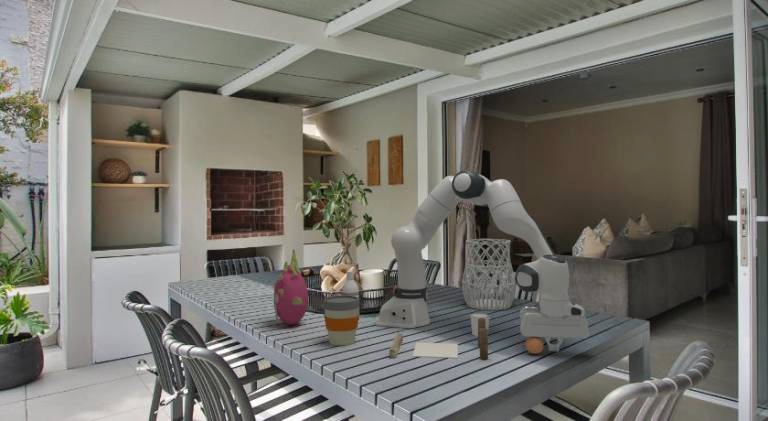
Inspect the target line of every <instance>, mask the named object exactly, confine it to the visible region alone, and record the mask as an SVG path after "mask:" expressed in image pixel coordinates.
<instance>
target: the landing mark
mask: <svg viewBox="0 0 768 421" xmlns="http://www.w3.org/2000/svg"><path fill="white" fill-rule="evenodd" d="M458 350H459V343H446V342H441V343H440V342H416V343H415V346H414V350H413V353H412V358H413V357H414V358H415V357H416V358H417V357H420V358H442V359H459V358H458V356H459V355H458V354H459V352H458Z"/></svg>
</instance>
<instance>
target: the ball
mask: <svg viewBox="0 0 768 421" xmlns="http://www.w3.org/2000/svg"><path fill="white" fill-rule="evenodd" d="M524 345H525V349H526V350H527V351H528V353H530V354H533V355H538V354H540V353H542V351H543V350H544V341H543V340H542V339H541V337H528V338H527V339H526V340H525V344H524Z"/></svg>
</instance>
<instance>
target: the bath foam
mask: <svg viewBox="0 0 768 421" xmlns="http://www.w3.org/2000/svg"><path fill="white" fill-rule="evenodd" d="M354 273H355V272H354V270H346V280H345V282H344V283H343V286H342V289H341V296H343V295H345V296H355V297H358V298H359V299H360V290H359V286H358V284H357V282H356V281H355V280H354V278H355V276H354ZM358 314H359V315H360V307H359V308H358ZM359 319H360V317H359V318H358V320H359Z"/></svg>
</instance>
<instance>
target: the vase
mask: <svg viewBox="0 0 768 421" xmlns="http://www.w3.org/2000/svg"><path fill="white" fill-rule="evenodd" d="M465 243H466V244H465V245H466V260H465V266H464V270H463V273H462V274H463V275H462V279H461V291H462V295H463V299H464V302H465V304H466V306H467V307H469V308H472V309H476V310H481V311H501V310H508V309H510V308H511V307H512V304H513V303H514V299H515V297H516V291H517V290H516V289H517V283H516V275H515V274H514V270H513V265H512V261H511V254H510V253H511V240H510V239H504V238H502V239H501V238H500V239H499V238H475V239H473V238H472V239H467V240H465ZM475 245H476V247H474V246H475ZM484 245H486V246H487V248H486V249H485V248H484V247H483V246H484ZM496 245H497V246H498V247H497V248H495V247H494V246H496ZM504 246H505V247H504ZM480 249H481V250H482V251H483V252H481V254H479V253H478V252H479V251H480ZM491 249H492V251H493V253H492V255H490V253H489V250H491ZM500 250H501V251H502V254H500V252H499V251H500ZM472 251H473V252H472ZM485 257H487V259H486V260H485ZM496 257H497V259H498V260H495V258H496ZM475 259H477V260H475ZM479 271H480V273H481V275H480V276H478V273H479ZM491 271H492V272H493V275H494V276H490V274H491ZM469 273H470V275H469ZM503 273H504V275H505V276H504V277H503ZM485 280H486V285H485Z"/></svg>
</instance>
